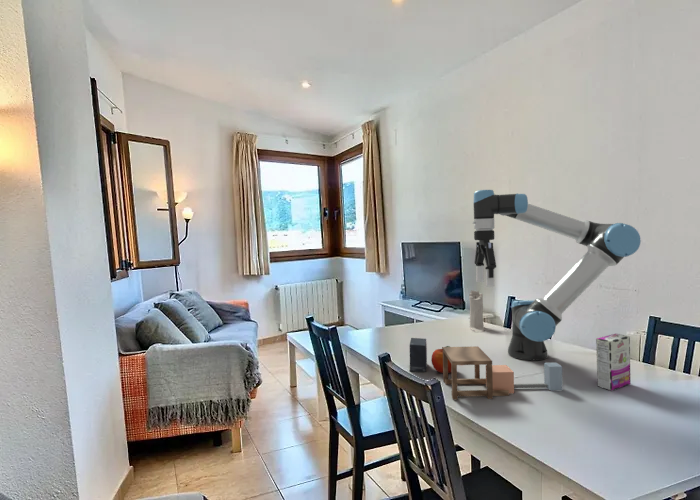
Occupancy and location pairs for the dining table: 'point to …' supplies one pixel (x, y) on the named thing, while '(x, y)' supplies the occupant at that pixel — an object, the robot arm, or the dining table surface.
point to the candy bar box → (613, 361)
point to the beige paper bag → (476, 311)
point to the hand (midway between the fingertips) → (485, 284)
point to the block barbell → (505, 381)
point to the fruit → (439, 360)
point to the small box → (418, 354)
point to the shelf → (475, 358)
